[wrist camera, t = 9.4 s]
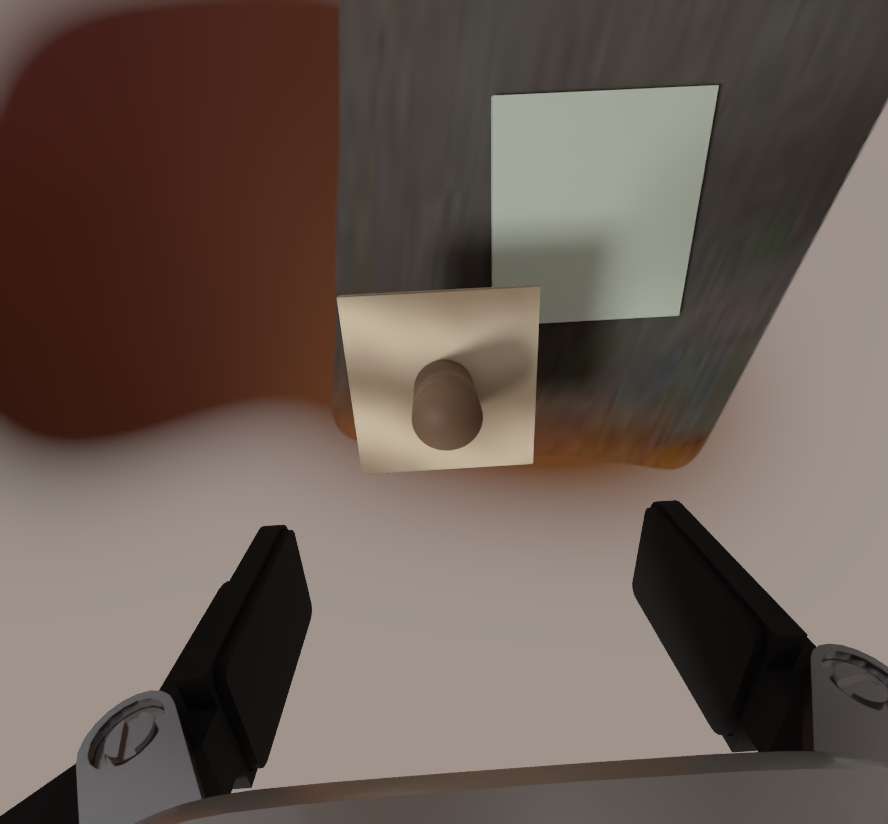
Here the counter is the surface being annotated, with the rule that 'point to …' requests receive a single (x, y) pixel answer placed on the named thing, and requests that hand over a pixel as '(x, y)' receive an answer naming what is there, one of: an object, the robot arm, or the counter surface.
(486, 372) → the lid
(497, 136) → the mat
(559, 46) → the counter surface
